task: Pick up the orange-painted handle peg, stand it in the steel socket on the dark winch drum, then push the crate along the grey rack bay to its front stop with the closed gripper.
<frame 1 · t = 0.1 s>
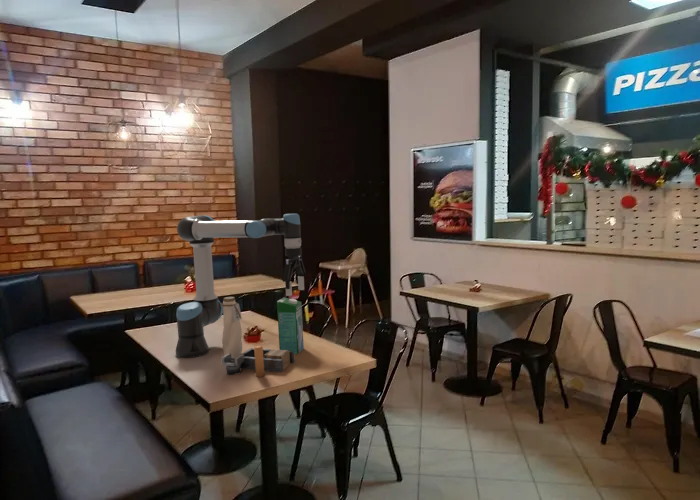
hand: (295, 292, 241), 28 cm above the table, fingers open, 13 cm apart
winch: (233, 372, 219), on the table
handle peg: (260, 375, 214), on the table
milk carton: (291, 351, 245), on the table
water bottle: (234, 358, 238), on the table
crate: (277, 359, 224), point 3 cm above the table, slide at 0.0 cm
bay: (271, 365, 225), on the table
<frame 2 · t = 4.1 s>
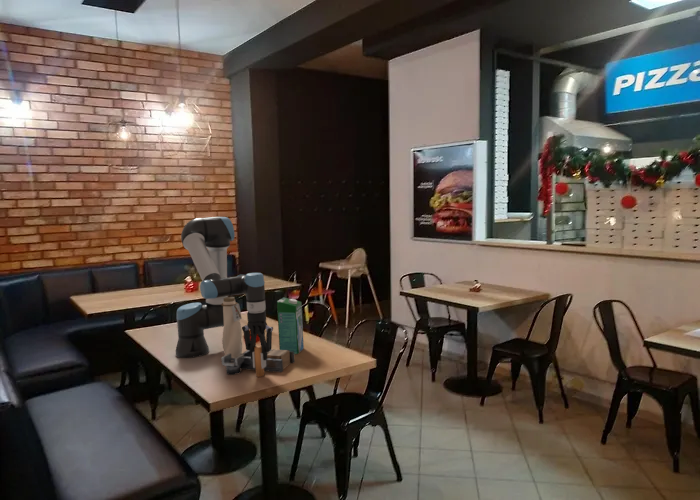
hand: (259, 366, 213), 4 cm above the table, fingers closed on handle peg, 3 cm apart
handle peg: (260, 375, 214), on the table, touching gripper
everything else where it was.
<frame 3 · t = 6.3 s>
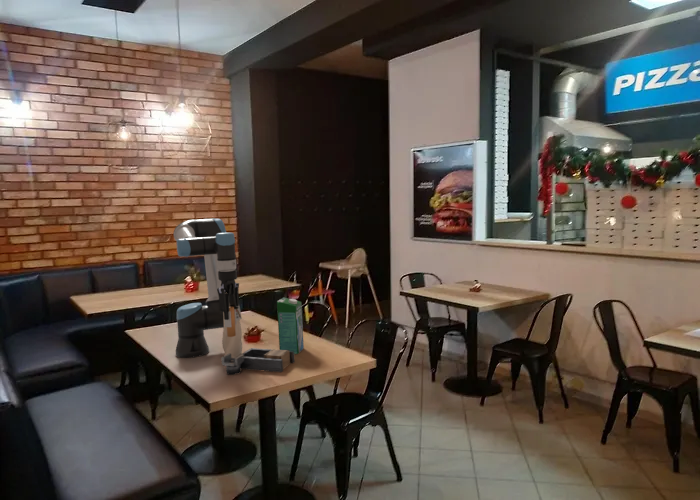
hand: (230, 325, 217), 20 cm above the table, fingers closed on handle peg, 3 cm apart
handle peg: (231, 335, 217), point 16 cm above the table, touching gripper
everything else where it was.
when the fingers open (9 cm above the table, at t = 9.0 s): handle peg stays where it is, resting on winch.
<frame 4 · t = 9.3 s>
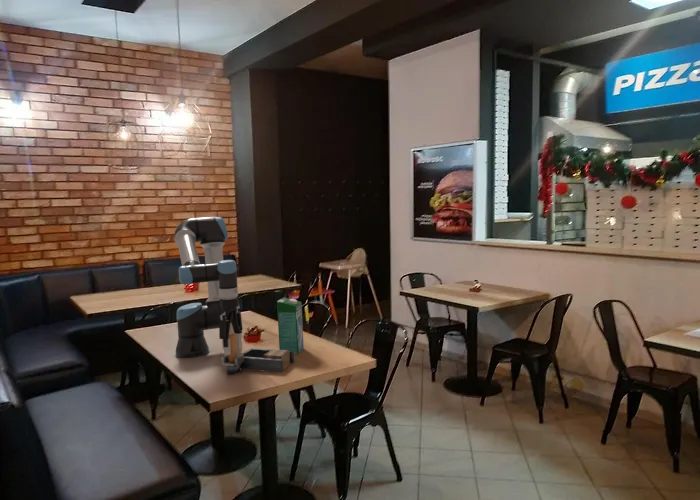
hand: (232, 351, 218), 9 cm above the table, fingers open, 7 cm apart
handle peg: (233, 362, 218), point 4 cm above the table, touching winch
everything else where it was.
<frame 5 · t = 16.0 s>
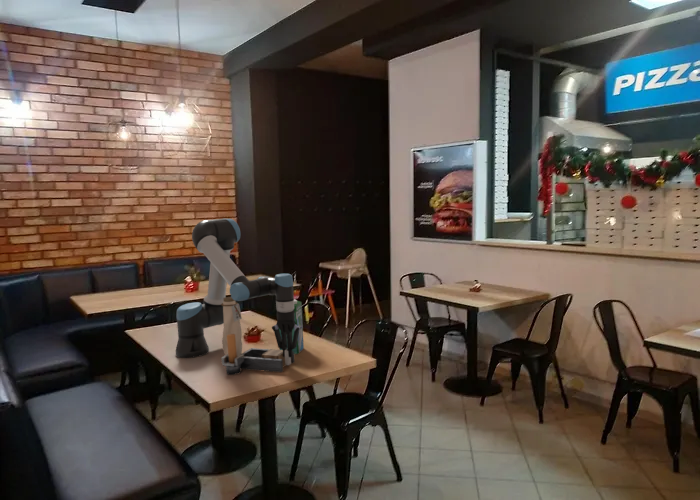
hand: (288, 364, 223), 1 cm above the table, fingers closed
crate: (274, 359, 225), point 3 cm above the table, slide at 1.3 cm, touching gripper
everything else where it was.
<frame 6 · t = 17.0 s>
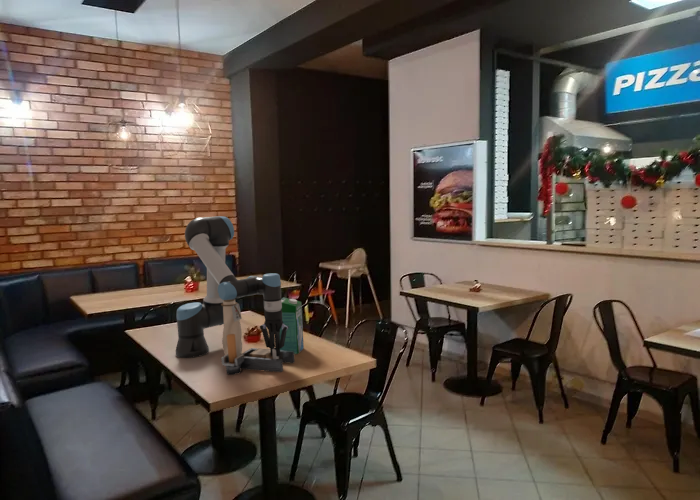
hand: (276, 363, 225), 1 cm above the table, fingers closed
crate: (262, 358, 226), point 3 cm above the table, slide at 7.1 cm, touching gripper
everything else where it was.
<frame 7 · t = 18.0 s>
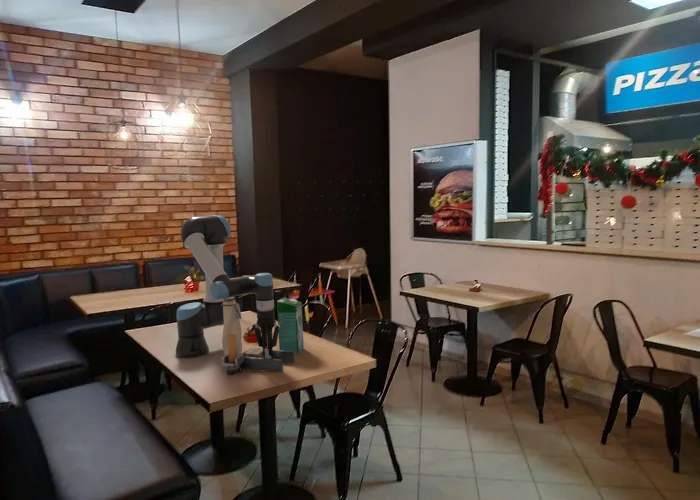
hand: (268, 362, 226), 1 cm above the table, fingers closed
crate: (255, 357, 228), point 3 cm above the table, slide at 10.7 cm, touching gripper
everything else where it was.
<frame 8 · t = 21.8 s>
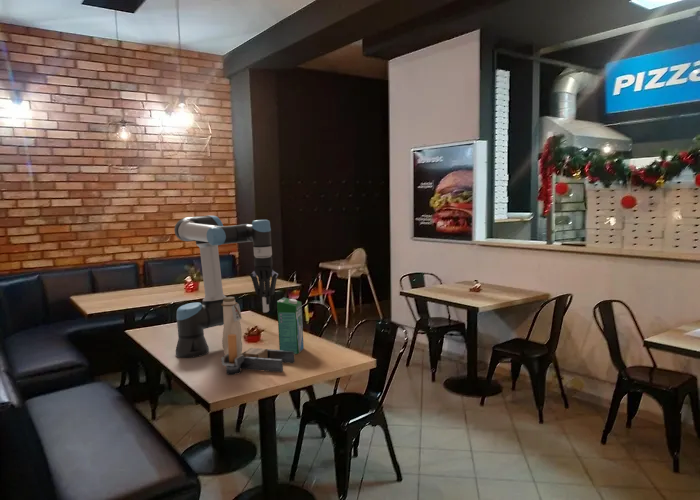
hand: (266, 311, 221), 24 cm above the table, fingers closed
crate: (255, 357, 228), point 3 cm above the table, slide at 10.7 cm
everything else where it was.
at the end: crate slide at 10.7 cm; handle peg 0.0 cm off-centre on the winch, point 4.1 cm above the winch's base; handle peg tilted 3° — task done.
